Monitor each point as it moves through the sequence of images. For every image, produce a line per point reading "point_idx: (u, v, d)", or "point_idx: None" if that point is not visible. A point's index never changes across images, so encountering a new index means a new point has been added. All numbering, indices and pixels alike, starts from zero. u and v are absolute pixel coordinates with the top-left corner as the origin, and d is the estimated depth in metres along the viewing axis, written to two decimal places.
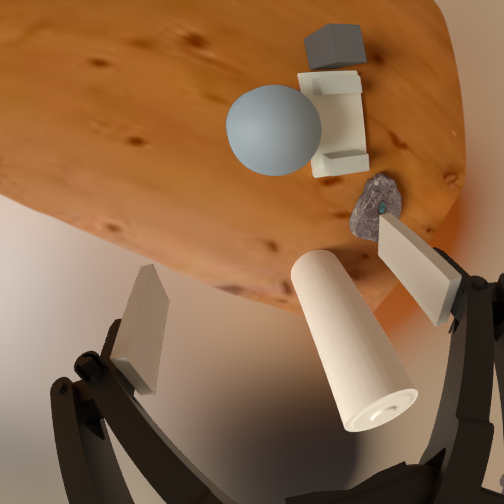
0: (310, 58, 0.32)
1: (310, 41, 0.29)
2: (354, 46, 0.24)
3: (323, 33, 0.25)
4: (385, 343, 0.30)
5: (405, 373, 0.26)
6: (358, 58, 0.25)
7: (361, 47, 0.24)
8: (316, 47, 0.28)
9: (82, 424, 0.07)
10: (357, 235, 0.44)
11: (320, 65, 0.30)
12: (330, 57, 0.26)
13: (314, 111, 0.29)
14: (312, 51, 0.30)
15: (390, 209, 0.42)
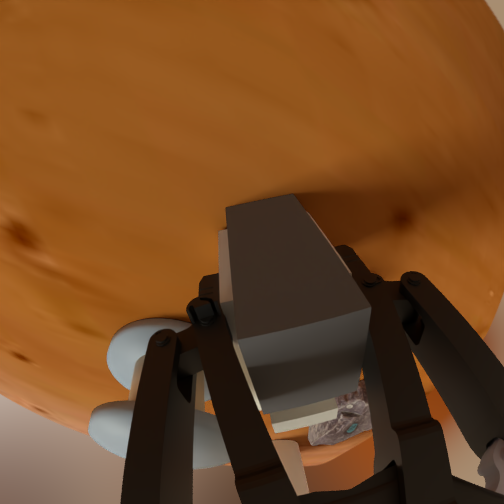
0: None
1: None
2: (328, 374, 0.09)
3: None
4: None
5: None
6: (333, 393, 0.10)
7: (352, 368, 0.09)
8: None
9: (174, 383, 0.09)
10: (315, 445, 0.30)
11: None
12: None
13: None
14: None
15: (363, 424, 0.27)
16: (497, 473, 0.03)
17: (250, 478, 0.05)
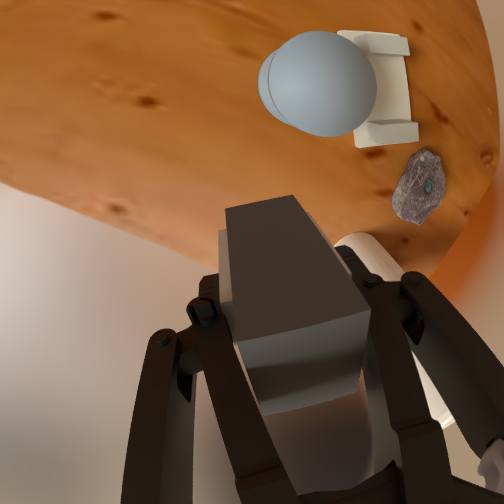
0: None
1: None
2: (328, 376, 0.09)
3: None
4: None
5: None
6: (332, 394, 0.10)
7: (352, 370, 0.09)
8: None
9: (174, 384, 0.09)
10: (402, 216, 0.37)
11: None
12: None
13: (368, 65, 0.21)
14: None
15: (435, 188, 0.34)
16: (497, 473, 0.03)
17: (251, 478, 0.05)
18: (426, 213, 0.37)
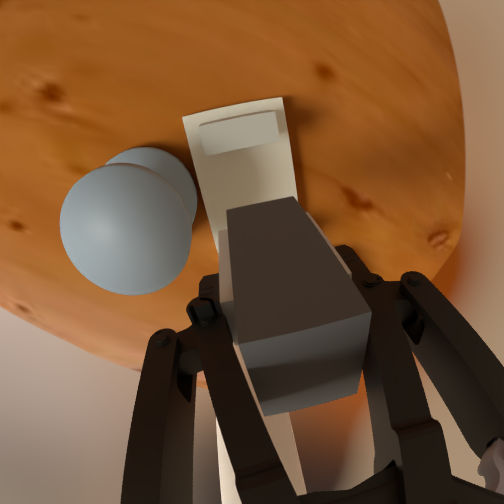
0: None
1: None
2: (329, 377, 0.09)
3: None
4: None
5: None
6: (333, 395, 0.10)
7: (352, 371, 0.09)
8: None
9: (174, 384, 0.09)
10: None
11: None
12: None
13: (173, 201, 0.19)
14: None
15: None
16: (497, 473, 0.03)
17: (251, 477, 0.05)
18: None
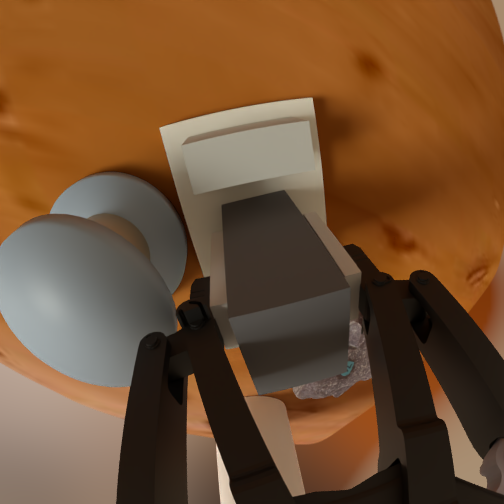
0: None
1: None
2: (317, 354, 0.10)
3: None
4: None
5: None
6: (323, 373, 0.11)
7: (339, 349, 0.10)
8: None
9: (165, 386, 0.08)
10: (301, 398, 0.26)
11: None
12: None
13: (140, 282, 0.11)
14: None
15: (362, 366, 0.24)
16: (499, 473, 0.03)
17: (244, 480, 0.05)
18: (347, 385, 0.27)
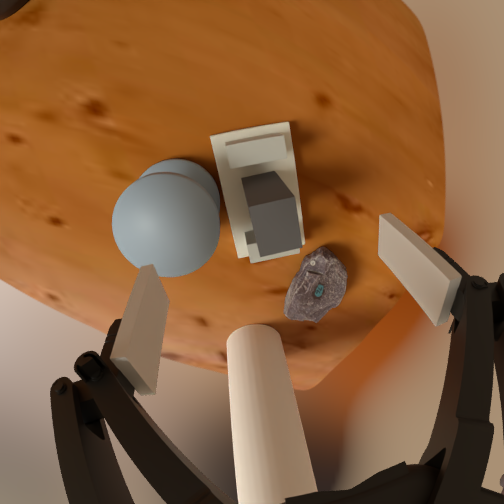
0: None
1: None
2: (285, 231, 0.25)
3: (248, 207, 0.26)
4: (291, 452, 0.26)
5: (304, 486, 0.22)
6: (290, 245, 0.26)
7: (295, 229, 0.25)
8: None
9: (82, 424, 0.07)
10: (290, 318, 0.41)
11: None
12: None
13: (208, 202, 0.26)
14: None
15: (330, 291, 0.39)
16: None
17: None
18: (323, 311, 0.41)
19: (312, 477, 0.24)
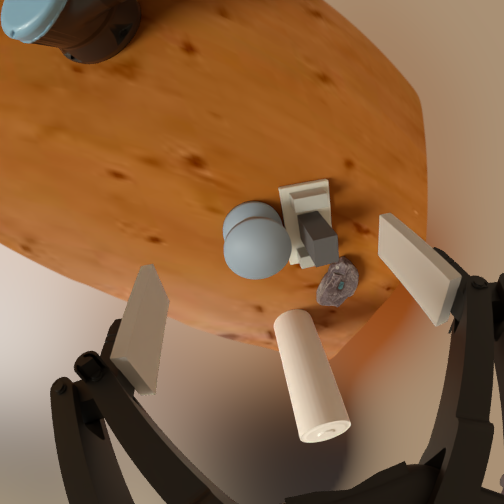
0: (300, 233, 0.52)
1: (301, 225, 0.49)
2: (330, 252, 0.44)
3: (309, 239, 0.45)
4: (330, 388, 0.46)
5: (341, 409, 0.42)
6: (332, 260, 0.45)
7: (336, 252, 0.44)
8: (305, 236, 0.49)
9: (82, 424, 0.07)
10: (321, 304, 0.60)
11: (307, 250, 0.50)
12: (312, 258, 0.46)
13: (286, 235, 0.45)
14: (302, 233, 0.50)
15: (347, 285, 0.58)
16: None
17: None
18: (342, 299, 0.61)
19: (344, 406, 0.44)
